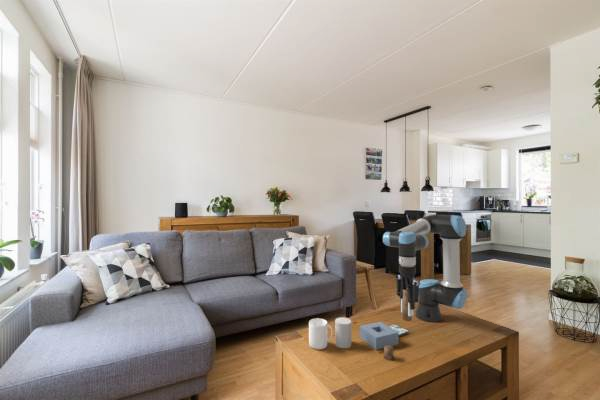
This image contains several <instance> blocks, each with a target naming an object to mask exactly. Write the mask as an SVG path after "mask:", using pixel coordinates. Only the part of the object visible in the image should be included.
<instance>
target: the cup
mask: <svg viewBox="0 0 600 400" xmlns="http://www.w3.org/2000/svg"><path fill="white" fill-rule="evenodd" d="M334 335H335V337H334V345H335V346H336V347H337V348H340V349H349V348H351V346H352V320H351V318H347V317H344V316H343V317H337V318H335V320H334Z"/></svg>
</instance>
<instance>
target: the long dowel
mask: <svg viewBox="0 0 600 400" xmlns="http://www.w3.org/2000/svg"><path fill="white" fill-rule="evenodd" d="M408 302H409V294H408V288H406V289H403V313H402V320H403V321H405V322H406V321H407V322H411V321H412V320H413V319H412V318H413V317H412V316H408Z"/></svg>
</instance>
